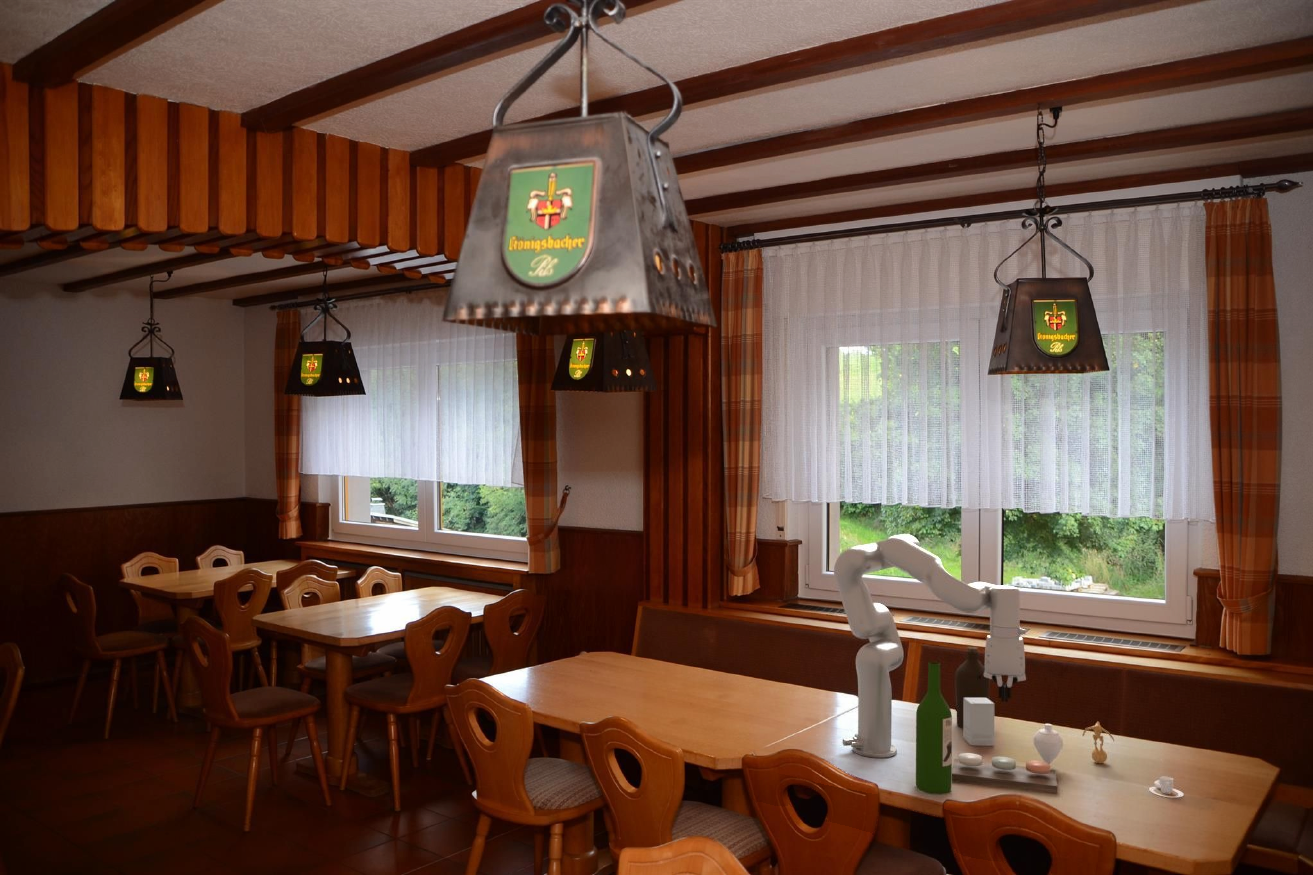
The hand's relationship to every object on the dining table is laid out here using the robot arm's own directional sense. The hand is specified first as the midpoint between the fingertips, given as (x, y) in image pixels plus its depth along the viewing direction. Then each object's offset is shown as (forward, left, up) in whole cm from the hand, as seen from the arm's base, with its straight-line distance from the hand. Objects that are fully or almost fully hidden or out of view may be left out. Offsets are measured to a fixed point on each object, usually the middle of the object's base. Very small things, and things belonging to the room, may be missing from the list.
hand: (1004, 700), depth 258 cm
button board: (0, 0, -21) cm, 21 cm away
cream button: (-7, +5, -18) cm, 20 cm away
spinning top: (+18, +5, -21) cm, 28 cm away
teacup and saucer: (+38, -19, -22) cm, 48 cm away
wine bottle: (-22, -1, -21) cm, 31 cm away
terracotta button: (+7, -5, -18) cm, 20 cm away
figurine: (+34, +4, -21) cm, 40 cm away
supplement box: (+13, +30, -21) cm, 39 cm away
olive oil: (+21, +45, -21) cm, 54 cm away
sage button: (0, 0, -18) cm, 18 cm away
